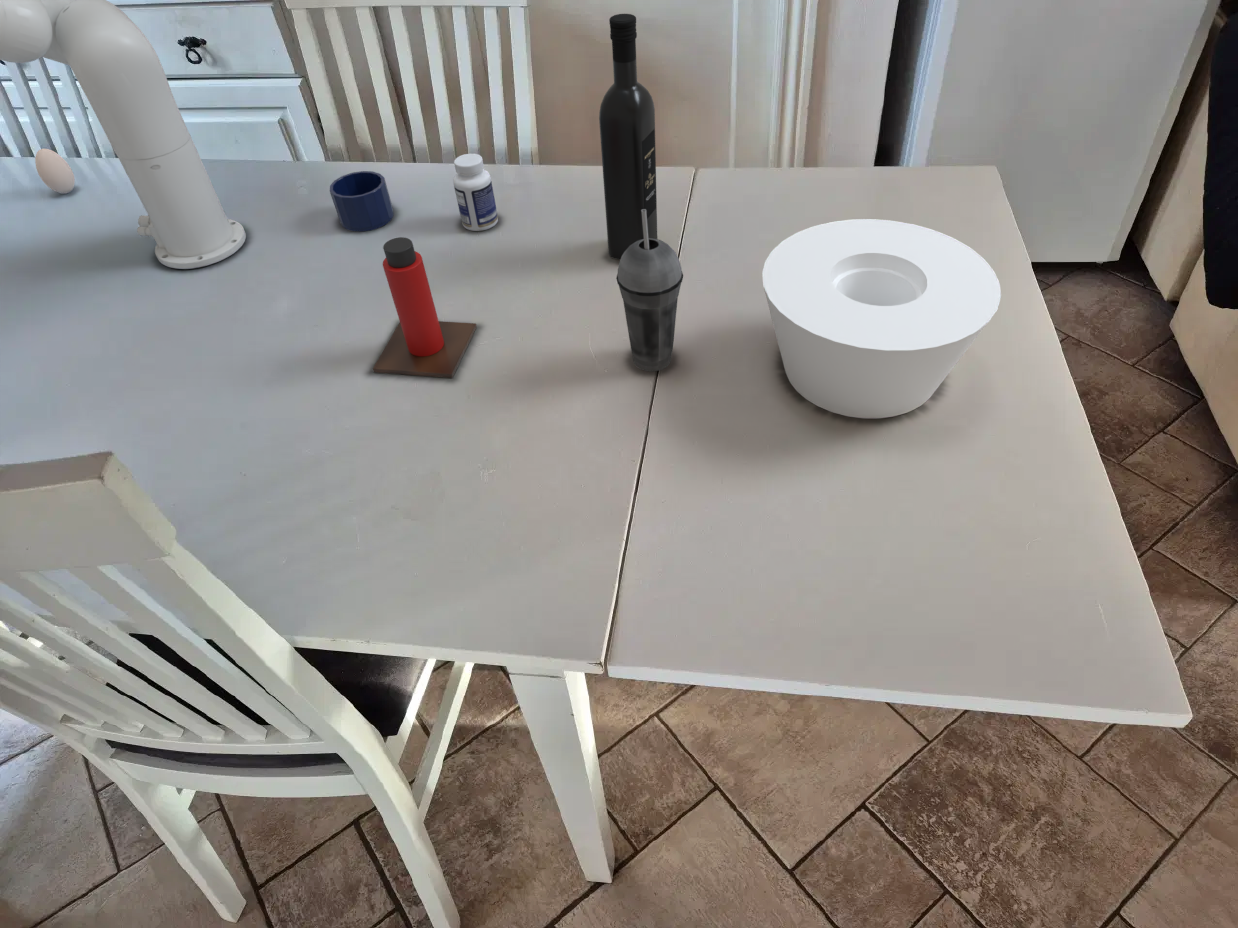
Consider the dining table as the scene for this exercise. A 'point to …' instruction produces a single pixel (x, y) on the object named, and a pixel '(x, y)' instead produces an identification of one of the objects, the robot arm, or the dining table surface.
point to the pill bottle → (474, 193)
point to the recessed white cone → (875, 312)
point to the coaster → (435, 365)
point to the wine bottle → (627, 145)
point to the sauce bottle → (412, 297)
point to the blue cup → (362, 201)
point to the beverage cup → (650, 299)
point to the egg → (54, 171)
